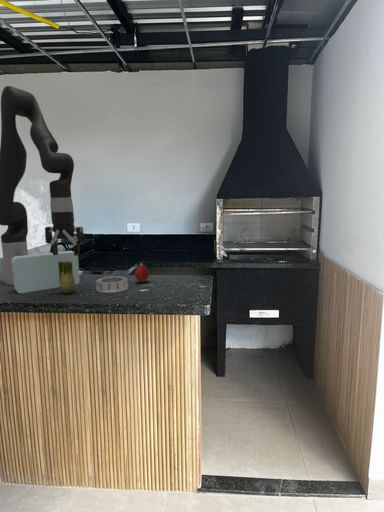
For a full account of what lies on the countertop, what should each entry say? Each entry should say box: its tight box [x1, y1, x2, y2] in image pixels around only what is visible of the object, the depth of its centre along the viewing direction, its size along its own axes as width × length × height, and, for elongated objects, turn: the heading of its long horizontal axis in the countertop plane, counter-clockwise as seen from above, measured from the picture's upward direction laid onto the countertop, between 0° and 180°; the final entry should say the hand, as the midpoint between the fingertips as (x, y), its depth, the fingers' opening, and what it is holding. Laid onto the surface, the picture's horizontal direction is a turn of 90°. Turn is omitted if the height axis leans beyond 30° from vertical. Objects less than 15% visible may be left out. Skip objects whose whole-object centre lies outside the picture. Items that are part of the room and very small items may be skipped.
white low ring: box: [95, 275, 129, 294], centre depth 131 cm, size 12×12×4 cm
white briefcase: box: [11, 250, 81, 294], centre depth 133 cm, size 23×6×13 cm, turn 126°
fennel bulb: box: [58, 261, 76, 294], centre depth 126 cm, size 6×5×12 cm
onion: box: [134, 263, 150, 283], centre depth 139 cm, size 6×6×8 cm
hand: (66, 255), depth 124 cm, fingers open, 8 cm apart
